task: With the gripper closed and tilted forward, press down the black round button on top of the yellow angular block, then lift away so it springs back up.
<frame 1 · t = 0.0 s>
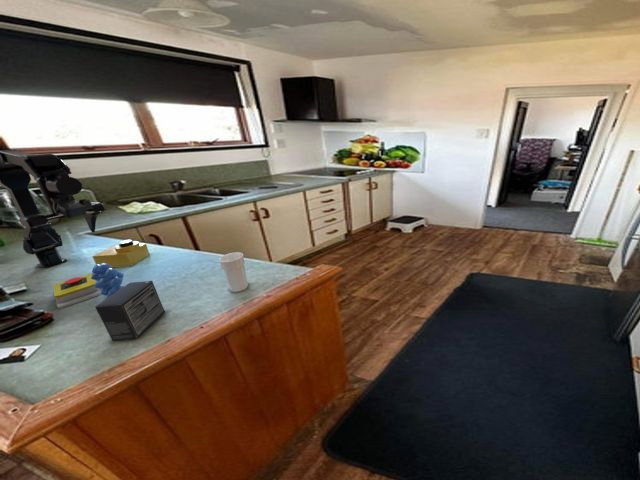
hand: (76, 237, 94), 15 cm above the counter, tool pointing down, fingers open, 9 cm apart
small box: (140, 326, 72), on the counter
yellow angular block: (125, 261, 108), on the counter
press button: (126, 243, 106), point 7 cm above the counter, slide at 0.1 cm
grapes: (118, 296, 85), on the counter
cup: (239, 287, 87), on the counter
emergency button: (79, 293, 88), on the counter
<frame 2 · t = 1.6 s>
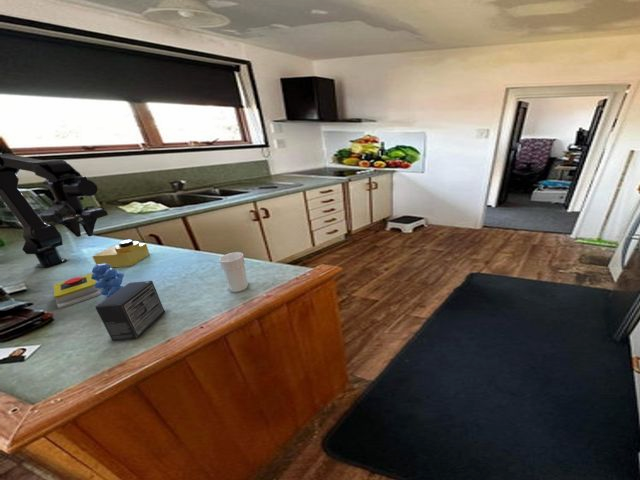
hand: (84, 236, 102), 12 cm above the counter, tool pointing down, fingers open, 4 cm apart
nothing on the counter moved.
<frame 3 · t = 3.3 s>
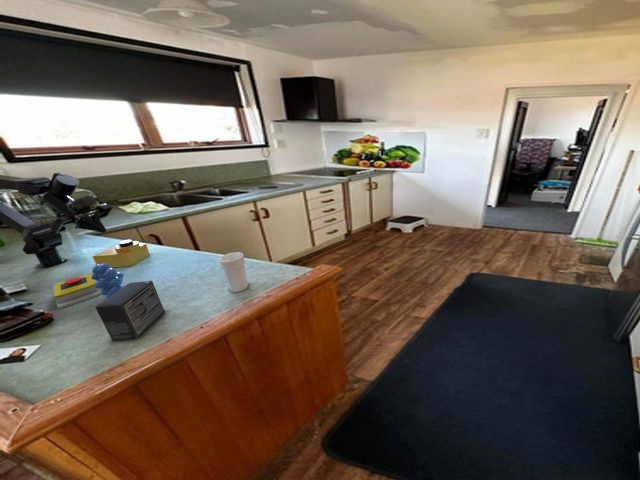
hand: (105, 231, 104), 13 cm above the counter, tool tilted 45°, fingers closed
nothing on the counter moved.
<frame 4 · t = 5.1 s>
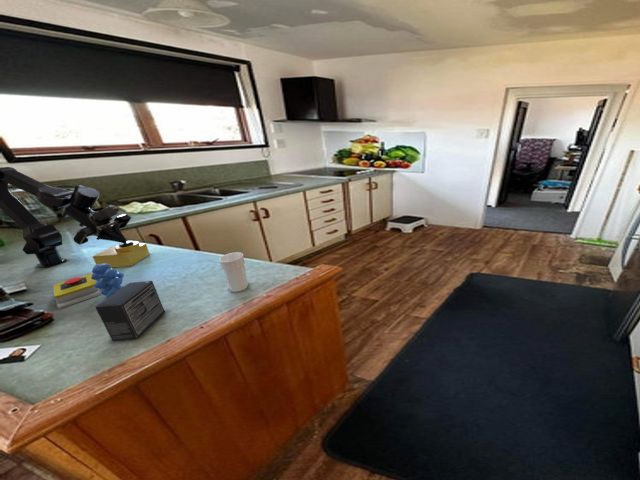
hand: (125, 241, 106), 8 cm above the counter, tool tilted 45°, fingers closed, pressing on press button
press button: (126, 244, 106), point 7 cm above the counter, slide at -0.3 cm, touching gripper
everything else where it was.
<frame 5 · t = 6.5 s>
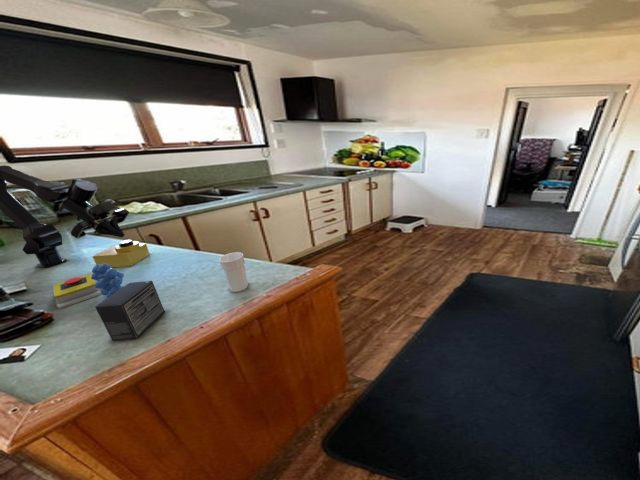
hand: (123, 236, 105), 11 cm above the counter, tool tilted 45°, fingers closed
press button: (126, 243, 106), point 7 cm above the counter, slide at 0.1 cm
everything else where it was.
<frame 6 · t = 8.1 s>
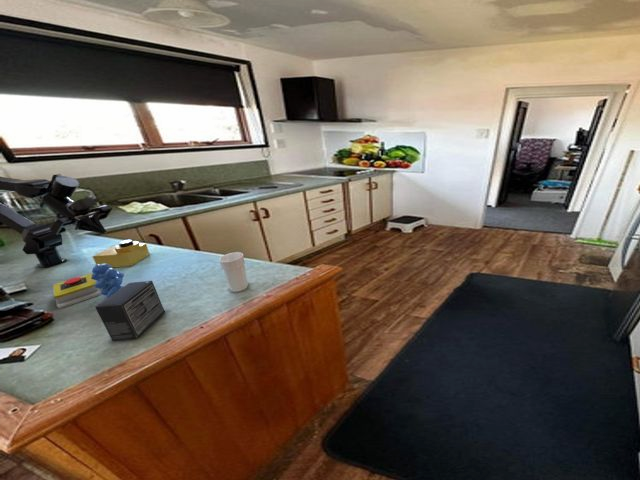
hand: (105, 232, 104), 12 cm above the counter, tool tilted 45°, fingers closed
nothing on the counter moved.
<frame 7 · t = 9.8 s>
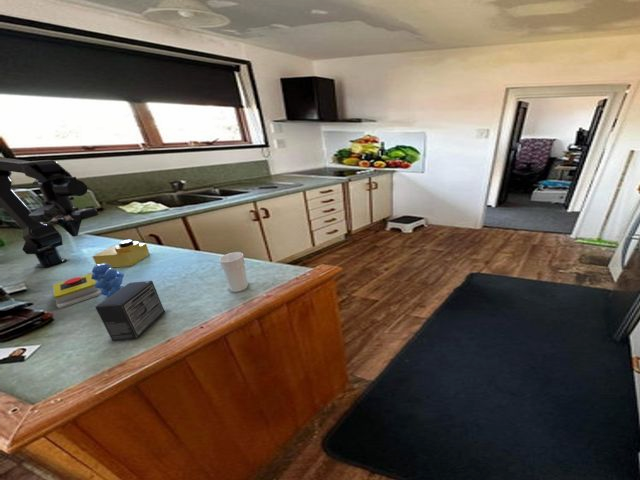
hand: (75, 236, 103), 12 cm above the counter, tool pointing down, fingers closed
nothing on the counter moved.
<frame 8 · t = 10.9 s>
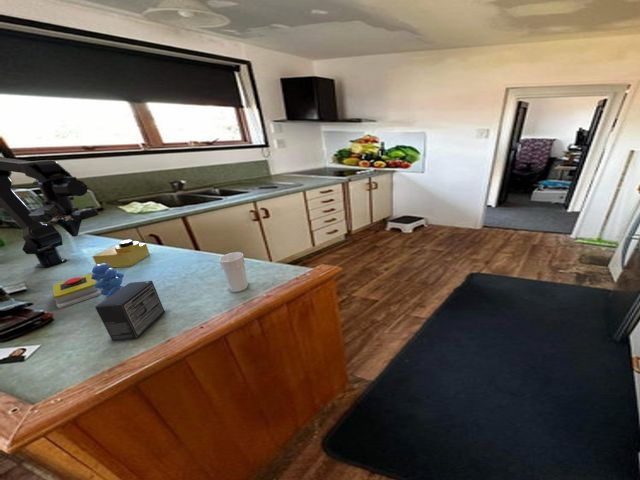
hand: (75, 236, 103), 12 cm above the counter, tool pointing down, fingers closed
nothing on the counter moved.
at the end: press button pushed in 1.3 cm at the most during the clip, back to where it started at the end; press button slide at 0.1 cm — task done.
